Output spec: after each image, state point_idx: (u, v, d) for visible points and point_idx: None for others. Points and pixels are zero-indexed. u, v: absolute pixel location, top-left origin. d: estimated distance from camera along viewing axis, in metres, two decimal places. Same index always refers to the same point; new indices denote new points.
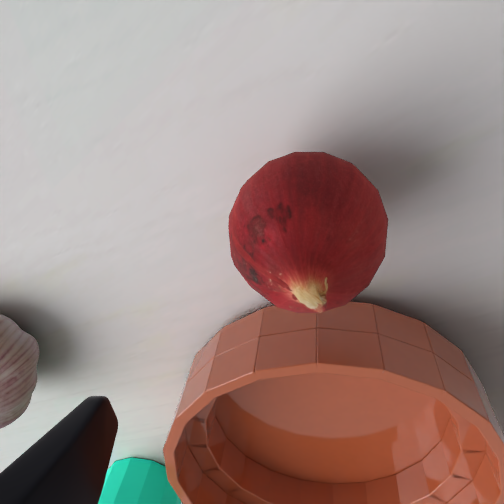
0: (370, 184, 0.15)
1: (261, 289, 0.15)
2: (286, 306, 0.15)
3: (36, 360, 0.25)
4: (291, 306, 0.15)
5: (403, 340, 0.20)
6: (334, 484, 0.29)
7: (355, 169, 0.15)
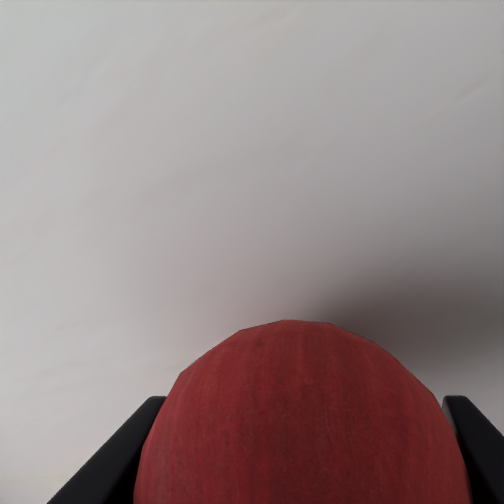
0: (438, 425, 0.07)
1: None
2: None
3: None
4: None
5: None
6: None
7: (407, 398, 0.07)
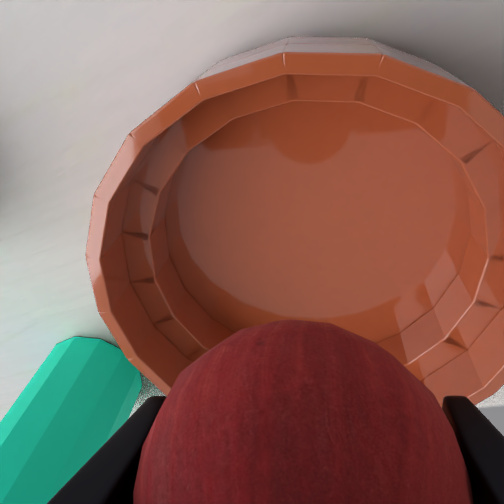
0: (438, 424, 0.07)
1: None
2: None
3: None
4: None
5: (409, 58, 0.14)
6: None
7: (407, 398, 0.07)
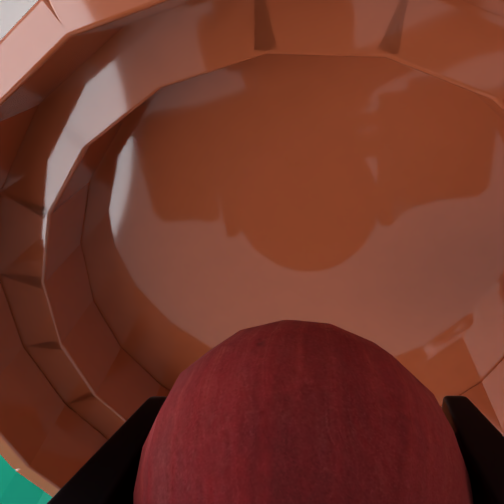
0: (438, 424, 0.07)
1: None
2: None
3: None
4: None
5: None
6: None
7: (407, 398, 0.07)
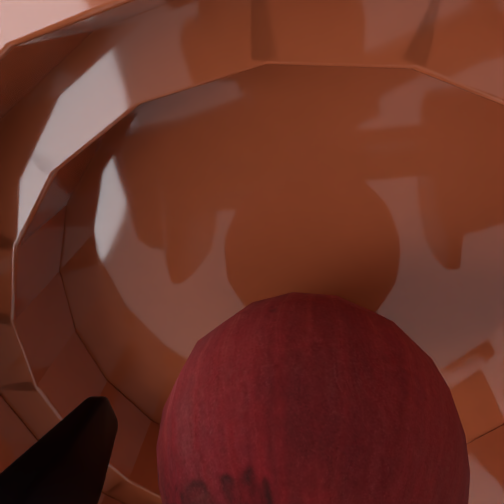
0: (436, 381, 0.07)
1: None
2: None
3: None
4: None
5: None
6: None
7: (407, 356, 0.07)
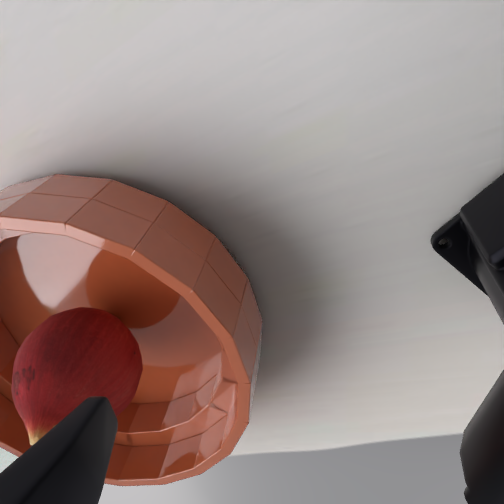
0: (114, 342, 0.20)
1: None
2: None
3: None
4: None
5: (121, 208, 0.18)
6: (141, 404, 0.28)
7: (101, 333, 0.20)
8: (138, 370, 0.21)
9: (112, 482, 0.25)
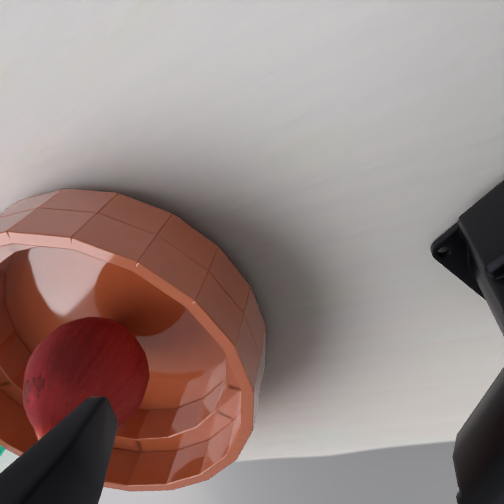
0: (121, 351, 0.21)
1: None
2: None
3: None
4: None
5: (125, 221, 0.19)
6: (150, 410, 0.29)
7: (108, 342, 0.21)
8: (145, 378, 0.22)
9: (121, 487, 0.26)
